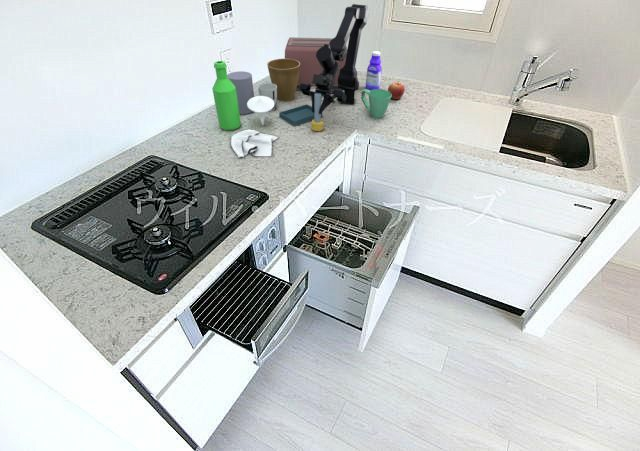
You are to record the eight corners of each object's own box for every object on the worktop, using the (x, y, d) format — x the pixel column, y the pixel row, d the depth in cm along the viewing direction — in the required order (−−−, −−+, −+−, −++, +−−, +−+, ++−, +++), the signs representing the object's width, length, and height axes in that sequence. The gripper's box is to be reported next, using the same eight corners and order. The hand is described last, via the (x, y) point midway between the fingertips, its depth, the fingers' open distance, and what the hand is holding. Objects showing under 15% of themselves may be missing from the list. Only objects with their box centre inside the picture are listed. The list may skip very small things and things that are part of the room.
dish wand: (314, 124, 141) (315, 91, 132) (325, 127, 140) (326, 93, 130) (309, 129, 138) (309, 95, 128) (320, 131, 136) (320, 97, 127)
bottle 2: (363, 88, 174) (367, 52, 163) (367, 85, 178) (371, 49, 166) (376, 91, 172) (381, 54, 160) (380, 88, 175) (385, 51, 164)
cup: (275, 113, 150) (273, 90, 143) (257, 111, 151) (255, 88, 144) (280, 106, 156) (279, 84, 149) (263, 104, 157) (261, 82, 150)
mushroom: (277, 129, 138) (275, 100, 130) (250, 131, 136) (246, 102, 128) (274, 119, 145) (272, 91, 138) (249, 120, 144) (245, 92, 136)
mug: (392, 116, 150) (396, 93, 143) (378, 122, 145) (382, 99, 138) (367, 106, 158) (369, 84, 151) (353, 112, 152) (355, 89, 146)
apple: (401, 94, 169) (404, 78, 164) (404, 101, 163) (407, 84, 158) (385, 94, 169) (387, 78, 163) (388, 101, 163) (390, 84, 158)
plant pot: (272, 92, 168) (269, 57, 158) (301, 93, 168) (301, 58, 158) (267, 104, 157) (264, 68, 147) (299, 105, 157) (298, 69, 147)
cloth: (247, 127, 139) (246, 122, 137) (291, 141, 131) (291, 135, 129) (212, 148, 126) (210, 142, 124) (258, 165, 118) (257, 159, 116)
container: (259, 107, 155) (255, 72, 145) (249, 116, 147) (245, 80, 137) (238, 104, 157) (233, 70, 147) (228, 113, 149) (222, 78, 139)
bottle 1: (222, 133, 135) (210, 67, 118) (217, 124, 141) (204, 60, 124) (244, 128, 138) (234, 64, 122) (237, 120, 144) (228, 57, 127)
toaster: (350, 92, 170) (353, 48, 157) (283, 90, 170) (280, 46, 157) (348, 79, 185) (351, 37, 171) (286, 77, 185) (284, 36, 171)
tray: (307, 108, 154) (306, 104, 153) (322, 116, 148) (322, 112, 147) (279, 116, 147) (279, 112, 146) (294, 126, 141) (294, 121, 139)
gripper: (300, 60, 128) (287, 99, 128) (345, 68, 122) (332, 108, 122) (309, 75, 139) (297, 111, 139) (352, 83, 133) (339, 120, 133)
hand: (316, 113), depth 133 cm, fingers closed on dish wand, 2 cm apart
